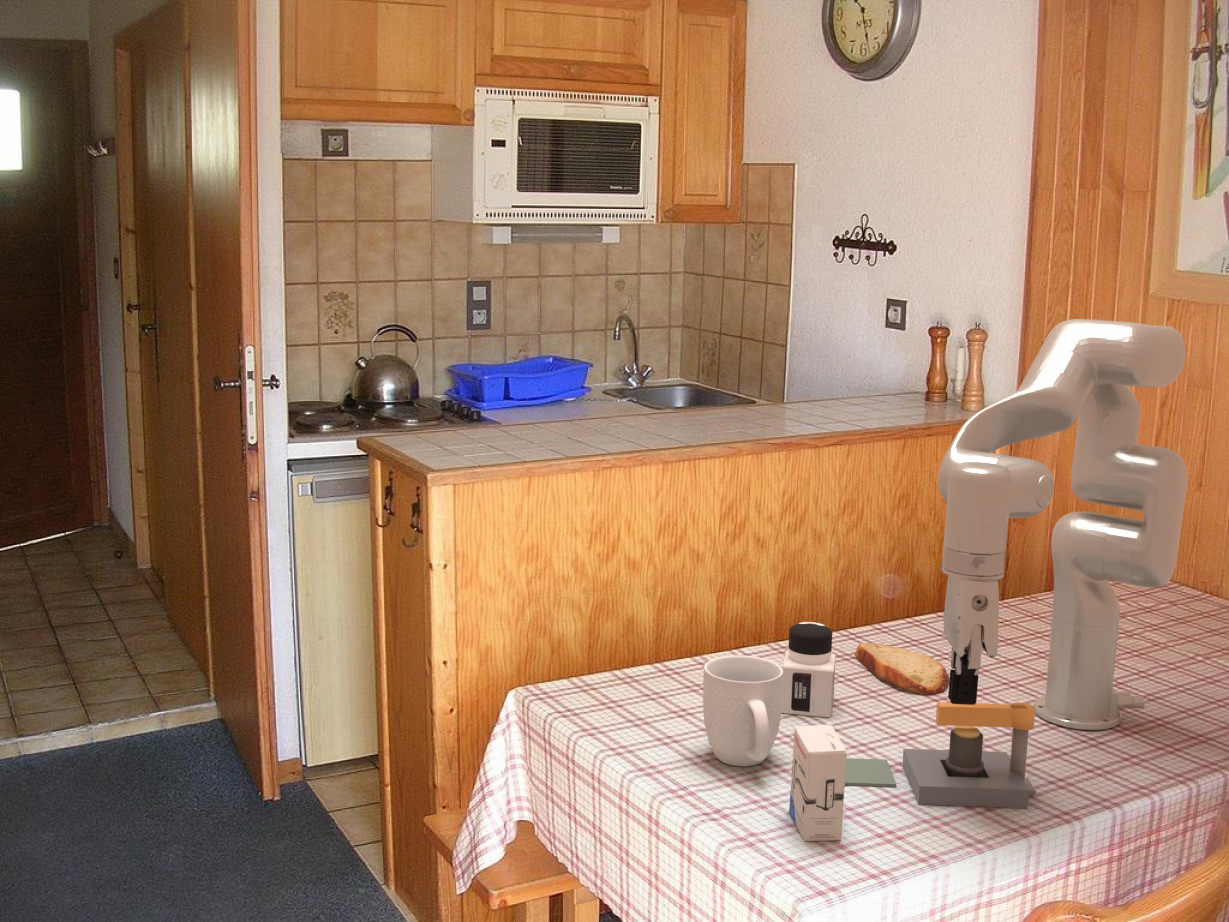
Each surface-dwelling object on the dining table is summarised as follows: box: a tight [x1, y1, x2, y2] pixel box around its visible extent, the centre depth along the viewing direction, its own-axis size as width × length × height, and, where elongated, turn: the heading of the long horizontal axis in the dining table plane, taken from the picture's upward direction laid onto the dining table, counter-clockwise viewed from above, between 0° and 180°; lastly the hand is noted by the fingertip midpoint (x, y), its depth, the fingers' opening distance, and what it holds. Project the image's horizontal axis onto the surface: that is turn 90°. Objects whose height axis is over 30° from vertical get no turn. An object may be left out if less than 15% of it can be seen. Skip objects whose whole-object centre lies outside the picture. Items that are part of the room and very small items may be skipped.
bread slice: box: [854, 642, 950, 697], centre depth 218 cm, size 18×18×4 cm
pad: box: [845, 757, 897, 788], centre depth 179 cm, size 8×8×1 cm
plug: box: [946, 726, 984, 778], centre depth 175 cm, size 5×5×8 cm
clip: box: [935, 701, 1036, 731], centre depth 173 cm, size 13×3×3 cm, turn 88°
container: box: [781, 621, 837, 718], centre depth 201 cm, size 8×8×13 cm
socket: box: [902, 728, 1037, 809], centre depth 174 cm, size 16×12×8 cm
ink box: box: [788, 724, 847, 842], centre depth 162 cm, size 9×5×12 cm, turn 5°
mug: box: [702, 654, 783, 767], centre depth 180 cm, size 15×11×13 cm
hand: (961, 701), depth 167 cm, fingers closed
